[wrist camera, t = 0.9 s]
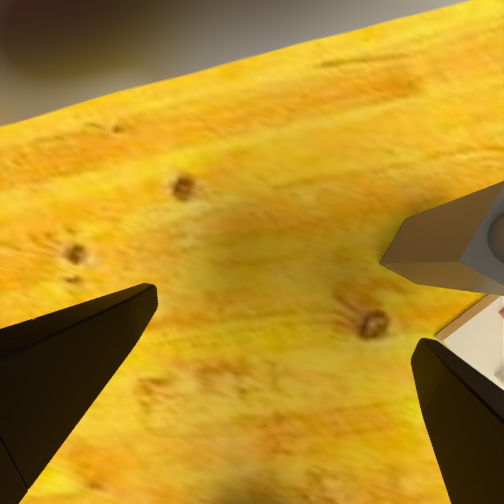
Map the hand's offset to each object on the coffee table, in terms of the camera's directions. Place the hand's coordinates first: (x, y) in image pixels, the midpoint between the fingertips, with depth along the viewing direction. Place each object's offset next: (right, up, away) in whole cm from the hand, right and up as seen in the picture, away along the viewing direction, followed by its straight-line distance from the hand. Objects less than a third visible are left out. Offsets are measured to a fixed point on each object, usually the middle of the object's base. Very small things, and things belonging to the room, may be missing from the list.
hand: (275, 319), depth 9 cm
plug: (+13, +2, +13) cm, 18 cm away
